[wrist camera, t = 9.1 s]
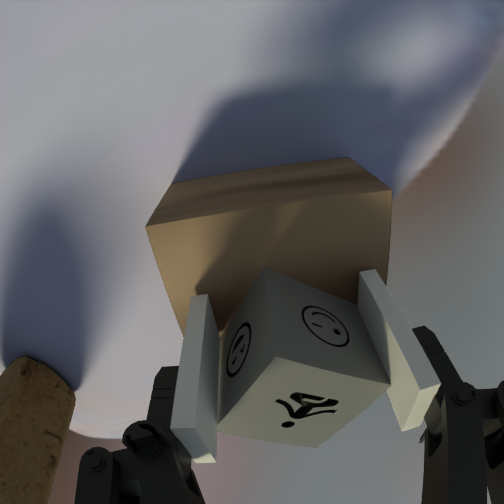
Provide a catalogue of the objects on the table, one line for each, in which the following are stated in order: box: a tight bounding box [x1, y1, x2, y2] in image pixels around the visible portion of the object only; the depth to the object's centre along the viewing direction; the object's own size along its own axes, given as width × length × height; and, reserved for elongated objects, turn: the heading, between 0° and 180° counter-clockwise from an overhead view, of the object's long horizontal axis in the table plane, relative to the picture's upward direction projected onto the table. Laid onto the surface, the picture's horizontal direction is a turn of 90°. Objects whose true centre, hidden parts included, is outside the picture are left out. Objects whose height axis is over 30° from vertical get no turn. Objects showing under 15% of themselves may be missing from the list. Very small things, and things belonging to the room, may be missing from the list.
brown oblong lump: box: [0, 357, 76, 504], centre depth 18 cm, size 11×8×20 cm
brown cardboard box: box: [145, 157, 392, 338], centre depth 17 cm, size 10×10×6 cm
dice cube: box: [217, 267, 391, 447], centre depth 13 cm, size 5×5×5 cm
